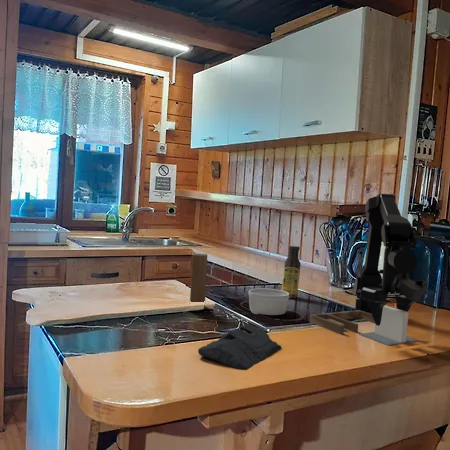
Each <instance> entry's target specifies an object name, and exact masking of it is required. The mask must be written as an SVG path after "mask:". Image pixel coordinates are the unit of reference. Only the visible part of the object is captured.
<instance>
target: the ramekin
mask: <svg viewBox="0 0 450 450" xmlns="http://www.w3.org/2000/svg"><path fill="white" fill-rule="evenodd" d="M289 299H290V298H289V293H288V292H285V291H282V290H281V289H275V288H268V287H267V288H263V287H262V288H258V287H257V288H252V289H249V290H248V301H249V302H248V305H249V310H250V311H251V313H252V314H254V315H259V314H260V315H264V316H265V315H266V316H279V315H284V314H285V313H286V312H287V307H288V303H289Z"/></svg>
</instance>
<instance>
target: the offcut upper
mask: <svg viewBox="0 0 450 450" xmlns="http://www.w3.org/2000/svg"><path fill="white" fill-rule="evenodd" d="M326 320H329V321H332V322H334V323H337V324H340V325H342V326H344V325H345V324H342V323H340V322H337V321H335V320H332V319H326Z"/></svg>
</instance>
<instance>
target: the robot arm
mask: <svg viewBox="0 0 450 450" xmlns="http://www.w3.org/2000/svg"><path fill="white" fill-rule="evenodd" d="M364 208H365V209H364V212H365V216H366V218H367V220H368V222H369V228H368V236H367V237H368V238H367V243H366V251H365V260H364V264H363V265H362V266H361V268H360V269H359V270H358V274H357V276H356V277H355V281H354V284H353V293H354V294H355V295H356V298H355V308H354V307H353V308H352V310H351V311H356V310H361V311H364V312H367V313H370V314H372V316H373V318H374V321H375V323H374V325H375V324H376V325H378V326H380V323H381V318H382V311H383V307H384V306H387V304H388V301H387V299H388V297H389V298H390V297H395V302H396V309H399V310H403V311H406V312H408V313H409V311H410V309H411V307H412V305H413V304H415V303H417V302H420V300H421V299H423V298H424V297H423V296H424V295H425V294H427V289H428V287H427V281H425V280H424V279H418V280H417V281H416V280H413V279H410V273H411V272H412V271H413V270H415V269H416V267H417V265H418V258H417V255H416V254H414V252H413V251H411V249H416V247H417V243H418V241H417V237H416V232H415V230H414V226H412V224H411V221H409V219H407V218H405V217H404V216H402V214H401V212H400V210H399V207H398V204H397V202H396V195H395V194H392V193H379V194H376V196H373V197H369V198H368V199H367V201H366V202H365V207H364ZM382 243H383V246H384V247H385V248H384V252H383V253H384V254H383V265H382V266H383V267H382V269H379V265H380V264H379V263H380V257H381V251H382ZM386 301H387V302H386Z"/></svg>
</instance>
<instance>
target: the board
mask: <svg viewBox="0 0 450 450" xmlns="http://www.w3.org/2000/svg"><path fill="white" fill-rule="evenodd" d="M408 324H409V311H408V312H406V311H403V310H399V309H397V307H396V308H395V307H392V306H388V305H385V306H384V307H383V311H382V318H381V323H380V326H378V325H376V324H375V323H374V332H375V333H376V334H379V335H381V336H384V337H387V338H390V339H392V340H395V341H398V342H406V336H407V335H408V334H407V332H408Z"/></svg>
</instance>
